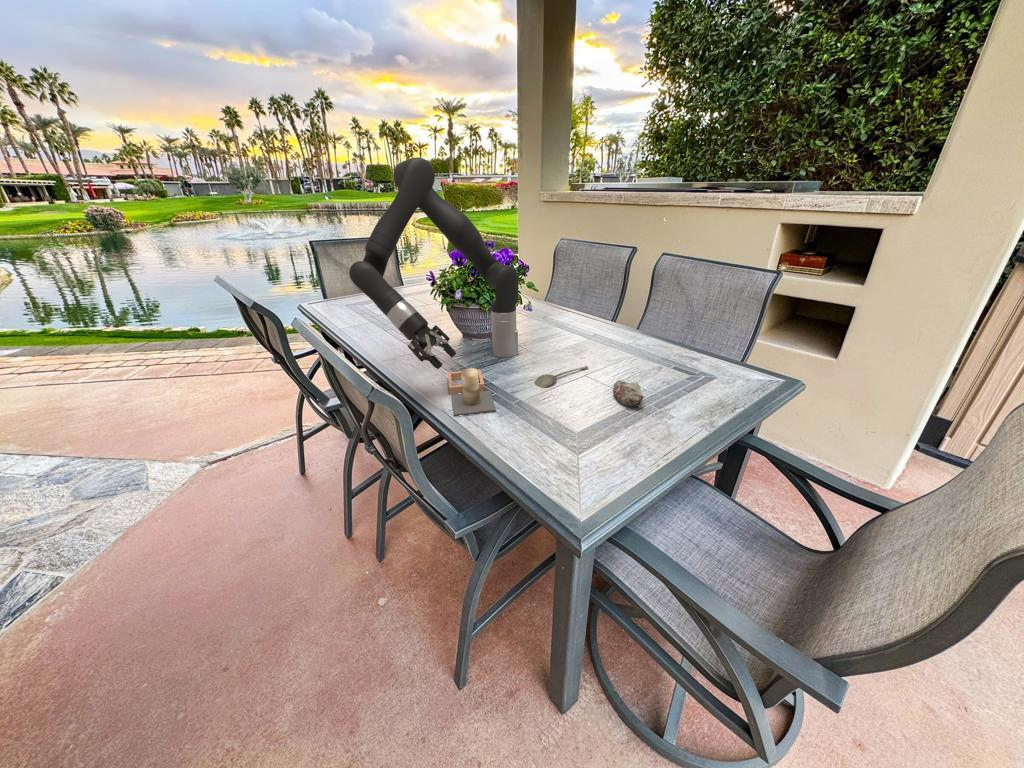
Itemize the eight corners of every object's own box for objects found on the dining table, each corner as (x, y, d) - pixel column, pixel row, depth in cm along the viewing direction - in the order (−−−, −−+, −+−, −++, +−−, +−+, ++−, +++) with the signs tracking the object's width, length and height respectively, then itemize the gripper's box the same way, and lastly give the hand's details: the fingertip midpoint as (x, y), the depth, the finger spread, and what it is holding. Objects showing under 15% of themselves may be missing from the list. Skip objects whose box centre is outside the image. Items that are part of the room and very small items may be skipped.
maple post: (479, 396, 120) (476, 367, 115) (481, 404, 115) (478, 374, 111) (463, 398, 119) (460, 369, 114) (464, 406, 115) (461, 376, 110)
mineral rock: (611, 386, 126) (612, 374, 123) (637, 387, 124) (638, 375, 122) (614, 410, 113) (615, 397, 111) (643, 412, 111) (645, 398, 109)
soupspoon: (530, 385, 130) (542, 393, 125) (530, 376, 128) (542, 384, 124) (580, 366, 140) (593, 373, 135) (581, 357, 138) (594, 365, 133)
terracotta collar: (480, 375, 134) (480, 369, 133) (484, 390, 125) (484, 383, 124) (448, 379, 133) (447, 372, 132) (449, 394, 123) (449, 387, 122)
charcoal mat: (490, 392, 124) (490, 390, 123) (495, 411, 113) (495, 409, 113) (451, 396, 122) (451, 394, 121) (454, 416, 111) (453, 414, 111)
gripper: (399, 319, 104) (443, 363, 106) (427, 304, 116) (465, 344, 117) (386, 336, 108) (428, 378, 110) (414, 320, 120) (451, 359, 122)
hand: (447, 361), depth 114 cm, fingers open, 8 cm apart
